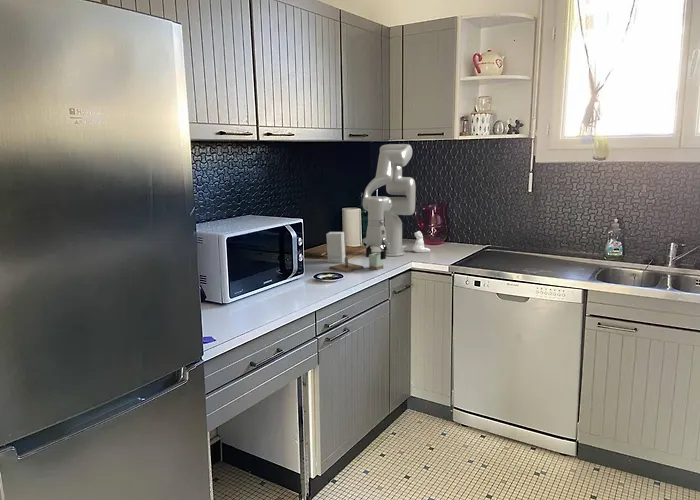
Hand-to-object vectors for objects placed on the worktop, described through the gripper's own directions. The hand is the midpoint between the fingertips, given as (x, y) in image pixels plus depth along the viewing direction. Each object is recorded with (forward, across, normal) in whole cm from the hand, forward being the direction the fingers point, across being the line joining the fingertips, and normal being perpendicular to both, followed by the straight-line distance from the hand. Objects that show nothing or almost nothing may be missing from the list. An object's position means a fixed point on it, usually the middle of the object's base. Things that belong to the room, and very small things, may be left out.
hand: (375, 257), depth 264 cm
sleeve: (+5, 0, -1) cm, 5 cm away
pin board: (+6, +11, +9) cm, 16 cm away
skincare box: (+5, +26, +2) cm, 27 cm away
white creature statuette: (+4, +9, -47) cm, 48 cm away
